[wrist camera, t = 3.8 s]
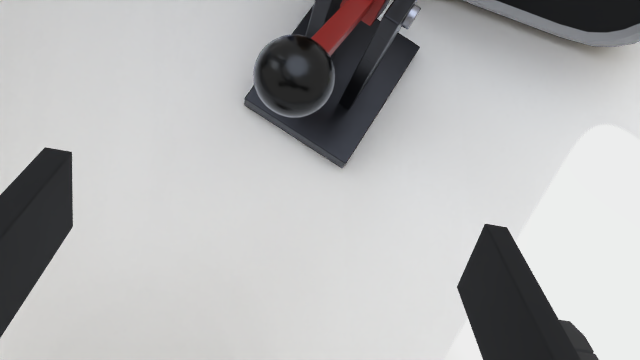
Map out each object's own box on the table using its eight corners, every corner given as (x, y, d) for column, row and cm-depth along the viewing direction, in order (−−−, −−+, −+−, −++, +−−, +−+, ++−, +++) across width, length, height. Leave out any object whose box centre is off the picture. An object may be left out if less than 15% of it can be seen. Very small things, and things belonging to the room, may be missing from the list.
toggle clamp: (342, 168, 41) (396, 98, 28) (243, 105, 41) (252, 4, 28) (414, 54, 45) (493, -56, 32) (324, -5, 45) (365, -140, 32)
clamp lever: (297, 147, 24) (330, 89, 21) (228, 102, 24) (253, 39, 21) (389, 23, 34) (418, -27, 31) (341, -8, 34) (367, -60, 31)
